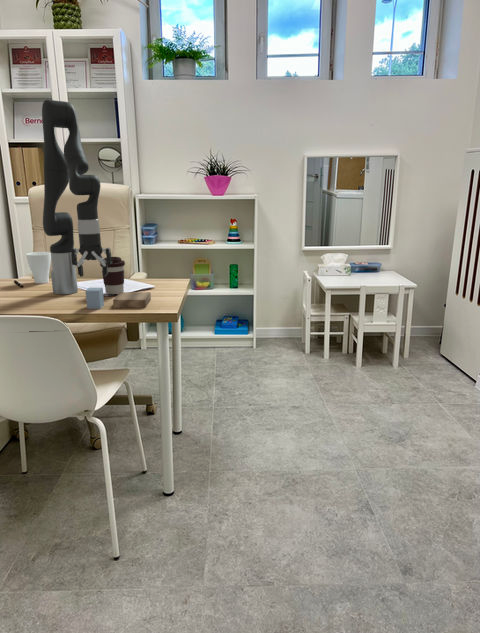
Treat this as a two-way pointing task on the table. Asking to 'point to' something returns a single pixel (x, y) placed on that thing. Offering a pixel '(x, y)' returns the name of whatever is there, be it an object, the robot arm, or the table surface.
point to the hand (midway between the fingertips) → (93, 276)
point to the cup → (39, 266)
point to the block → (94, 298)
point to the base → (132, 299)
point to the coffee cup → (114, 276)
